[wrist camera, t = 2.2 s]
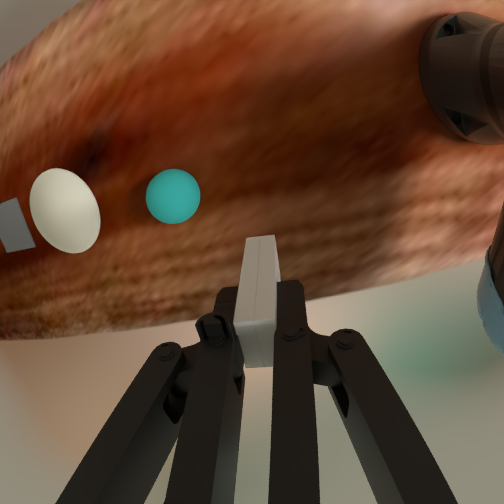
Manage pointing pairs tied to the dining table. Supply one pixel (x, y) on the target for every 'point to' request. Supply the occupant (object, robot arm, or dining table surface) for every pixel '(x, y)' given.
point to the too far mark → (14, 227)
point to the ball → (173, 196)
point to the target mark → (65, 210)
